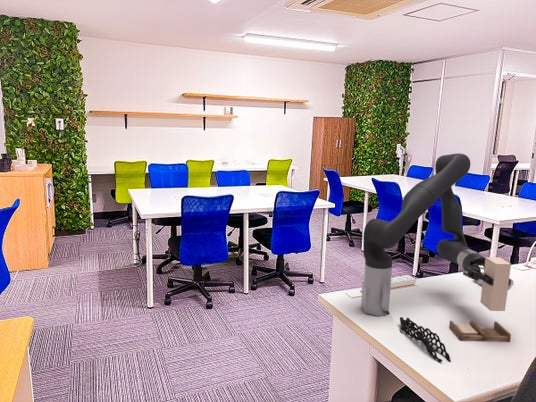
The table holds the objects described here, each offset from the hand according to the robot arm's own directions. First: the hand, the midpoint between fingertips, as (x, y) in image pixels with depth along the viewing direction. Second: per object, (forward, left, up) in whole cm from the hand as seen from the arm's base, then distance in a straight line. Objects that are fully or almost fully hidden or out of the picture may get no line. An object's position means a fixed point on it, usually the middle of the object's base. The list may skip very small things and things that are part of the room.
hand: (500, 282), depth 120 cm
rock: (+23, +45, -20) cm, 54 cm away
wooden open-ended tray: (-4, +2, -19) cm, 20 cm away
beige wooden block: (0, +3, -9) cm, 9 cm away
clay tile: (-7, +3, -18) cm, 20 cm away
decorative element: (-23, -3, -20) cm, 31 cm away
